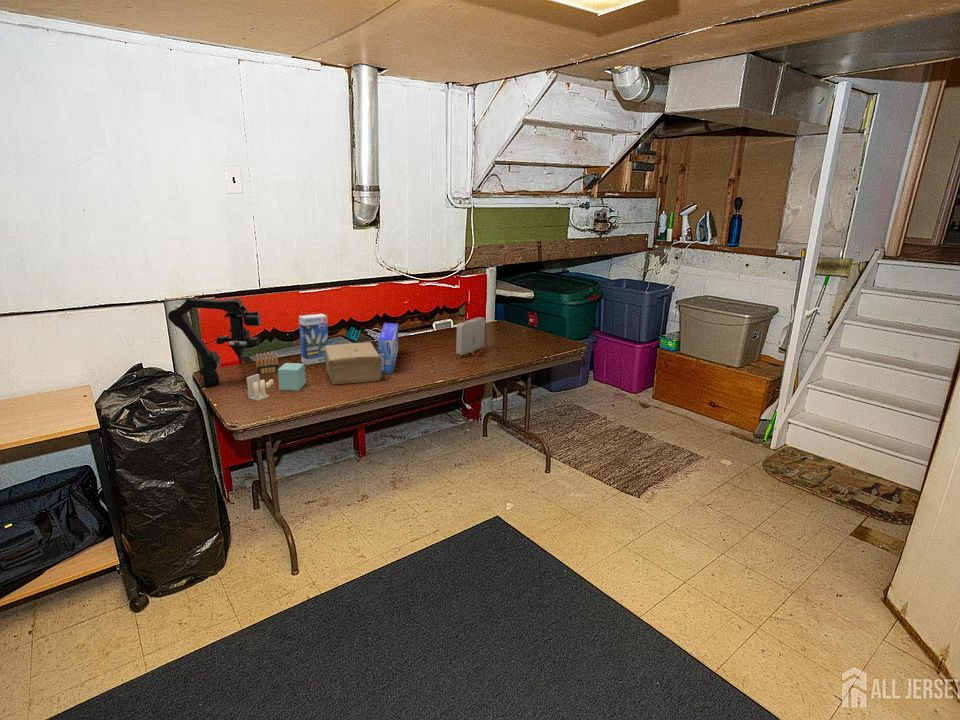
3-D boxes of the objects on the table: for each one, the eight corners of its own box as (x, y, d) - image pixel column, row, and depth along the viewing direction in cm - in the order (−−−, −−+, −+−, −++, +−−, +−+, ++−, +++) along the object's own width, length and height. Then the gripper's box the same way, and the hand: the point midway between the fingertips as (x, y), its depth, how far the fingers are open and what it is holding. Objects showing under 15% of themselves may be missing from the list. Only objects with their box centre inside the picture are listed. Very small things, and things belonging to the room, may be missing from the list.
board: (257, 389, 253) (256, 383, 252) (263, 384, 259) (263, 378, 258) (282, 390, 252) (282, 384, 252) (288, 385, 259) (287, 379, 258)
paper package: (324, 369, 285) (323, 343, 281) (373, 365, 294) (373, 341, 290) (329, 386, 261) (327, 358, 257) (382, 382, 269) (381, 355, 265)
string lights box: (306, 365, 289) (303, 318, 282) (300, 361, 295) (297, 315, 287) (329, 361, 298) (327, 315, 290) (323, 357, 303) (321, 312, 296)
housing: (279, 389, 251) (277, 369, 248) (287, 382, 260) (285, 362, 257) (298, 390, 251) (297, 370, 248) (305, 383, 260) (304, 363, 257)
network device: (464, 359, 311) (465, 325, 305) (452, 356, 315) (452, 323, 309) (487, 349, 332) (488, 318, 326) (475, 347, 336) (476, 315, 330)
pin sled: (248, 398, 240) (246, 377, 237) (259, 394, 245) (257, 373, 242) (258, 401, 237) (256, 380, 234) (268, 397, 242) (267, 376, 239)
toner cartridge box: (393, 374, 281) (393, 340, 276) (377, 374, 281) (376, 339, 275) (398, 352, 318) (398, 322, 313) (384, 352, 318) (383, 322, 312)
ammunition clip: (278, 372, 276) (276, 350, 273) (279, 373, 275) (277, 351, 271) (256, 375, 271) (254, 352, 267) (257, 376, 269) (255, 353, 266)
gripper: (263, 322, 258) (266, 354, 262) (225, 321, 258) (228, 352, 263) (254, 328, 247) (256, 360, 252) (213, 326, 247) (217, 359, 252)
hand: (240, 358), depth 255 cm, fingers closed
